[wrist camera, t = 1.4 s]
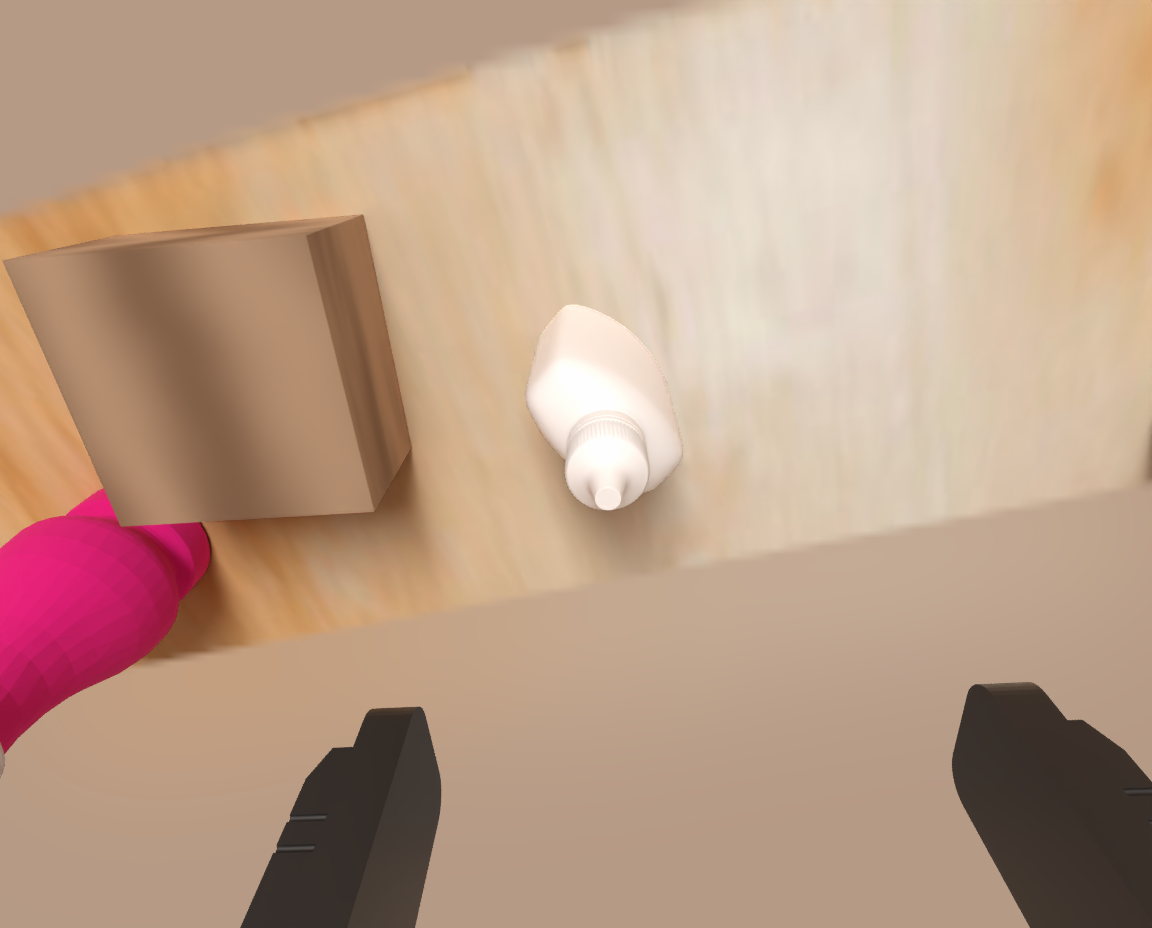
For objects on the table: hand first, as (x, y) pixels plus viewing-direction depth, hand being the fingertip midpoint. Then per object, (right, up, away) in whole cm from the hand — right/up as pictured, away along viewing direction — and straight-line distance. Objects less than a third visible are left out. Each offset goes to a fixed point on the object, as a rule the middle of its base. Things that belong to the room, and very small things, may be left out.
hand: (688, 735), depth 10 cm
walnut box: (-15, +9, +19) cm, 25 cm away
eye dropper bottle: (-1, +9, +19) cm, 20 cm away
